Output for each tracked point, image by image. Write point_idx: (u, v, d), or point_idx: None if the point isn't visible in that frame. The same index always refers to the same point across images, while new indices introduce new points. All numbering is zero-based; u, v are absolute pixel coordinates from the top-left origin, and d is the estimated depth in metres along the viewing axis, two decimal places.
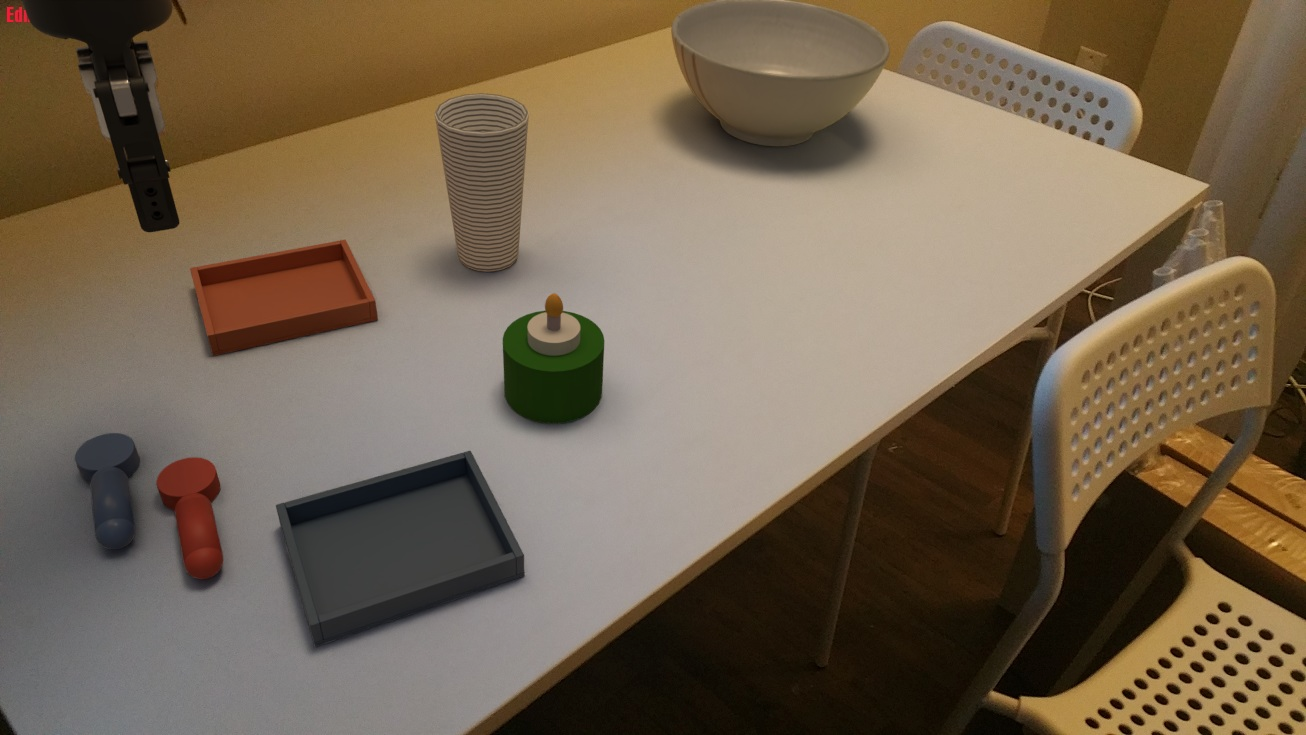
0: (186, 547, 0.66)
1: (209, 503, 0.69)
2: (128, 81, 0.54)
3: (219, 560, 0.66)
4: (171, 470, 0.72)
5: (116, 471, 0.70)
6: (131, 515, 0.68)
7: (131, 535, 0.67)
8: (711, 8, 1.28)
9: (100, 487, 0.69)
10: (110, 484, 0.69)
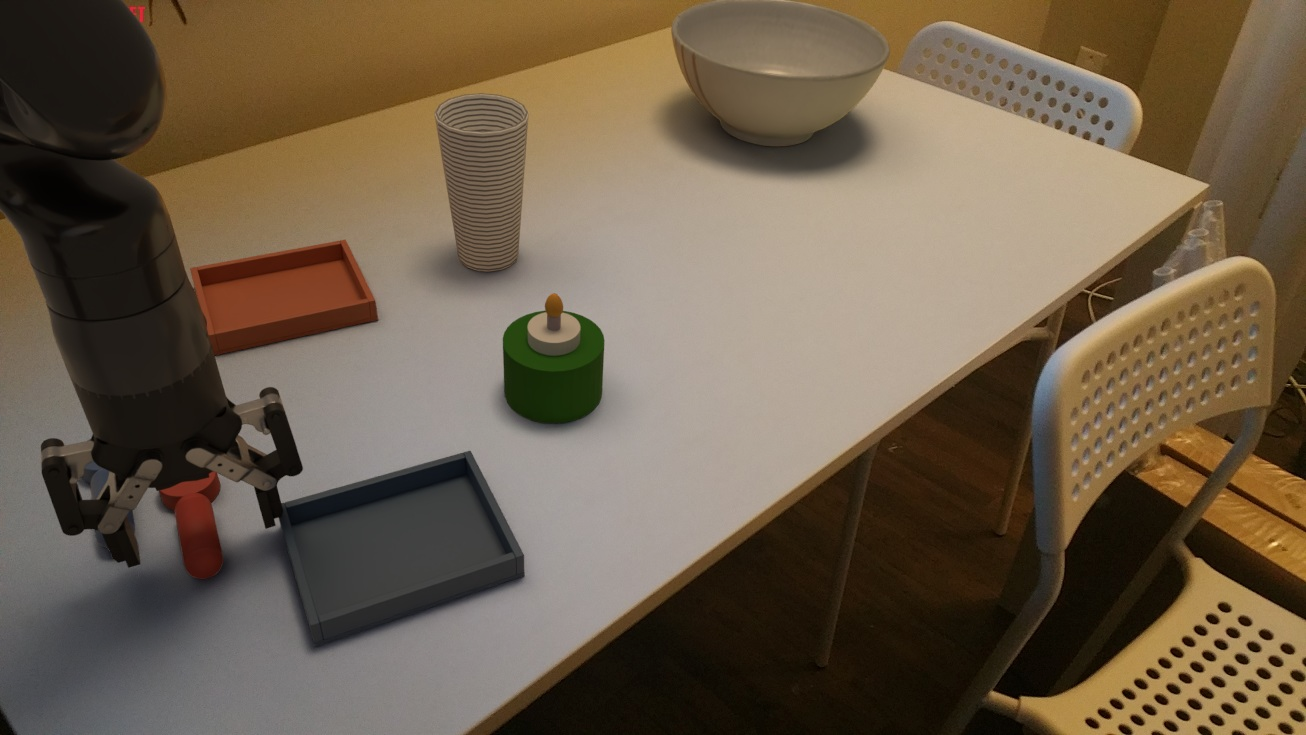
0: (186, 547, 0.66)
1: (209, 503, 0.69)
2: (273, 394, 0.63)
3: (219, 560, 0.66)
4: None
5: None
6: (131, 515, 0.68)
7: None
8: (711, 7, 1.28)
9: (100, 487, 0.69)
10: None
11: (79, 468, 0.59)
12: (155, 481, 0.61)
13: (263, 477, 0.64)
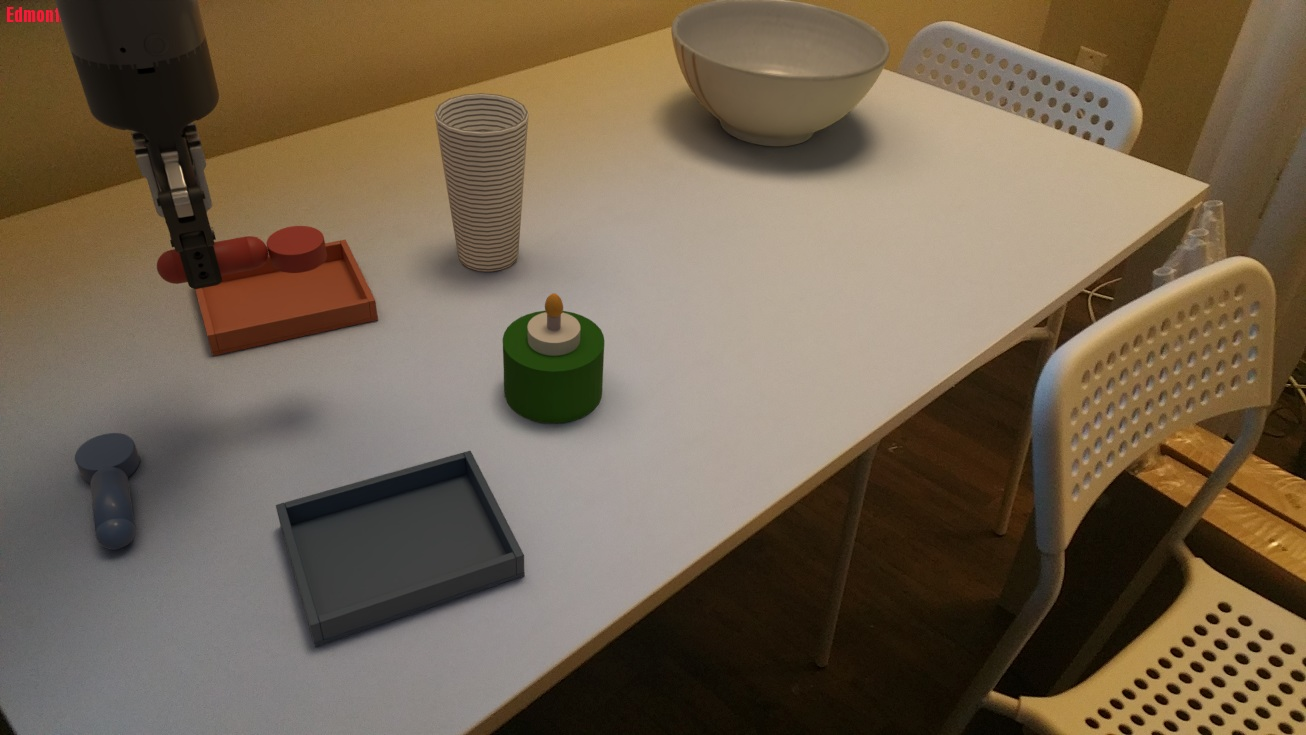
0: None
1: (248, 256, 0.70)
2: (188, 195, 0.60)
3: (165, 271, 0.68)
4: (307, 231, 0.73)
5: (116, 471, 0.70)
6: (131, 515, 0.68)
7: (131, 535, 0.67)
8: (711, 7, 1.28)
9: (100, 487, 0.69)
10: (110, 484, 0.69)
11: None
12: None
13: None
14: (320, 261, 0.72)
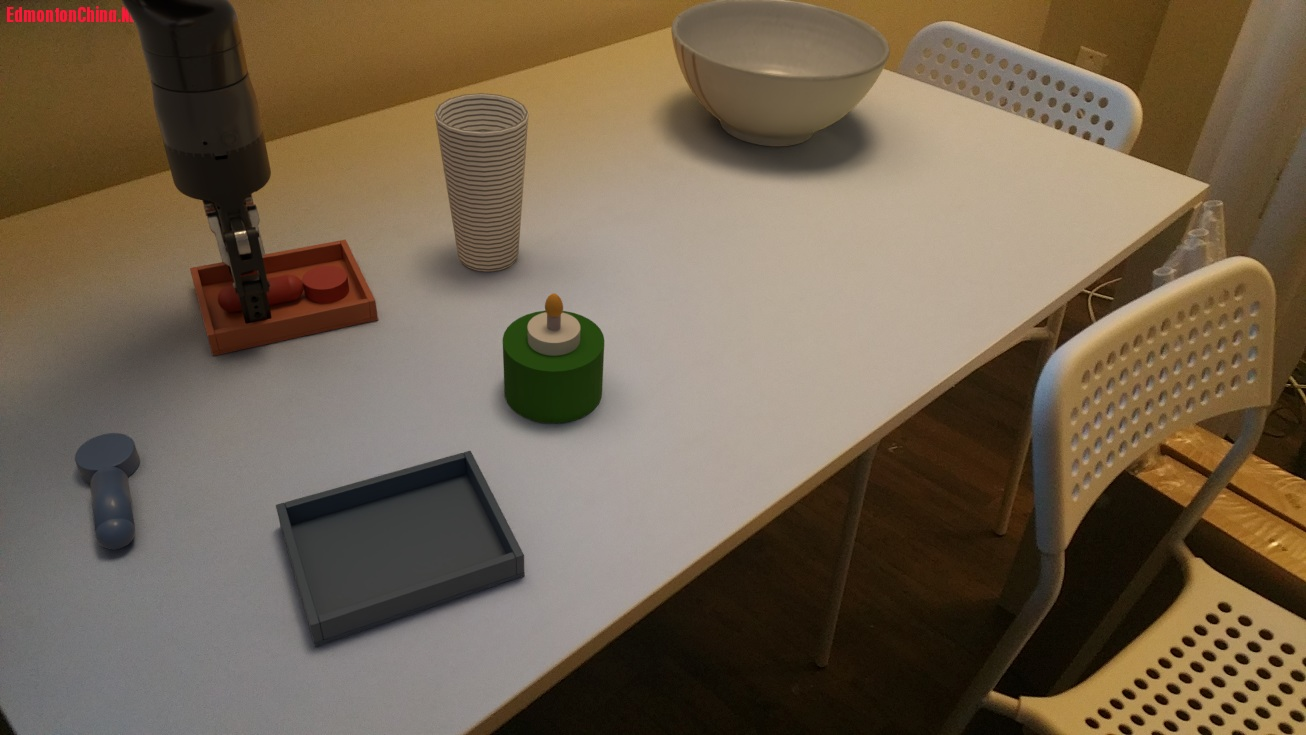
0: None
1: (288, 290, 0.89)
2: (246, 231, 0.78)
3: (225, 303, 0.87)
4: (334, 269, 0.92)
5: (116, 471, 0.70)
6: (131, 515, 0.68)
7: (131, 535, 0.67)
8: (711, 7, 1.28)
9: (100, 487, 0.69)
10: (110, 484, 0.69)
11: None
12: None
13: (233, 278, 0.82)
14: (344, 294, 0.92)
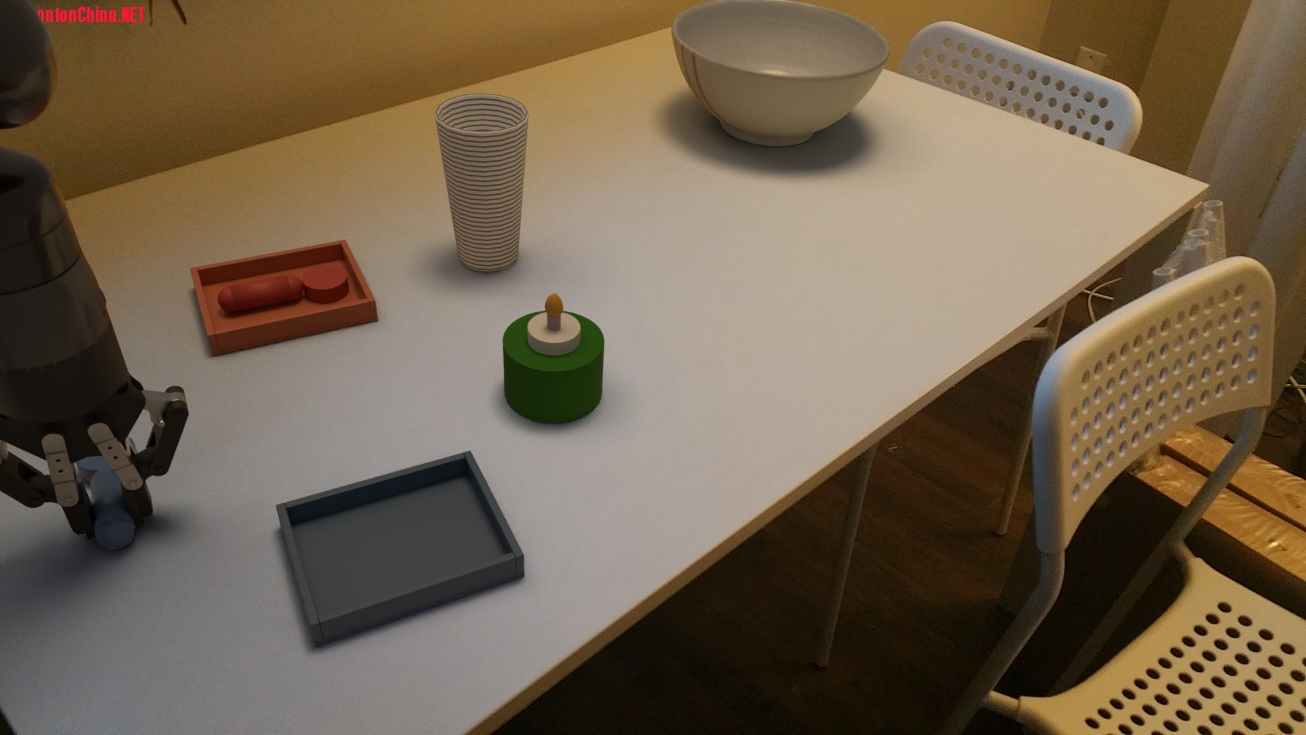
0: None
1: (288, 290, 0.89)
2: (182, 393, 0.66)
3: (225, 303, 0.87)
4: (334, 269, 0.92)
5: None
6: None
7: (131, 535, 0.67)
8: (711, 7, 1.28)
9: (100, 487, 0.69)
10: (110, 484, 0.69)
11: None
12: None
13: (128, 476, 0.66)
14: (344, 294, 0.92)
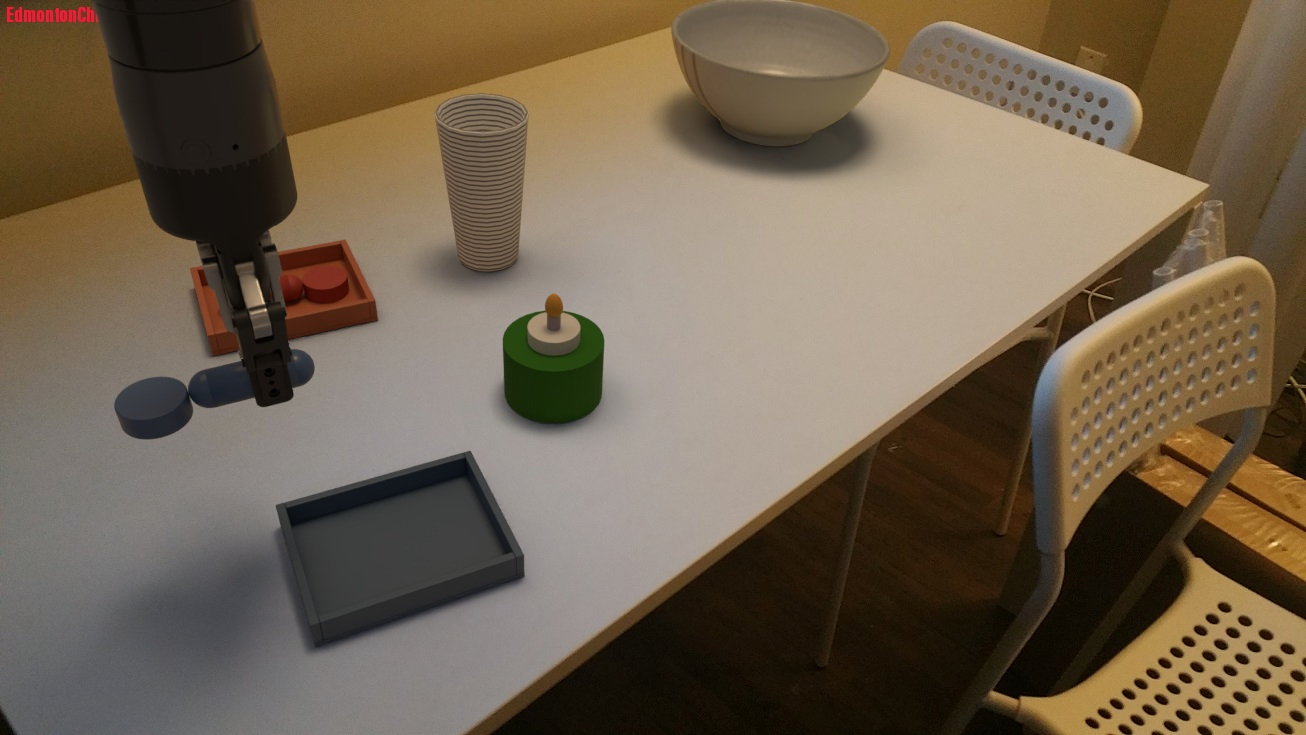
0: None
1: (288, 290, 0.89)
2: None
3: None
4: (334, 269, 0.92)
5: (206, 369, 0.60)
6: None
7: None
8: (711, 7, 1.28)
9: (232, 372, 0.59)
10: (230, 365, 0.60)
11: None
12: None
13: None
14: (344, 294, 0.92)
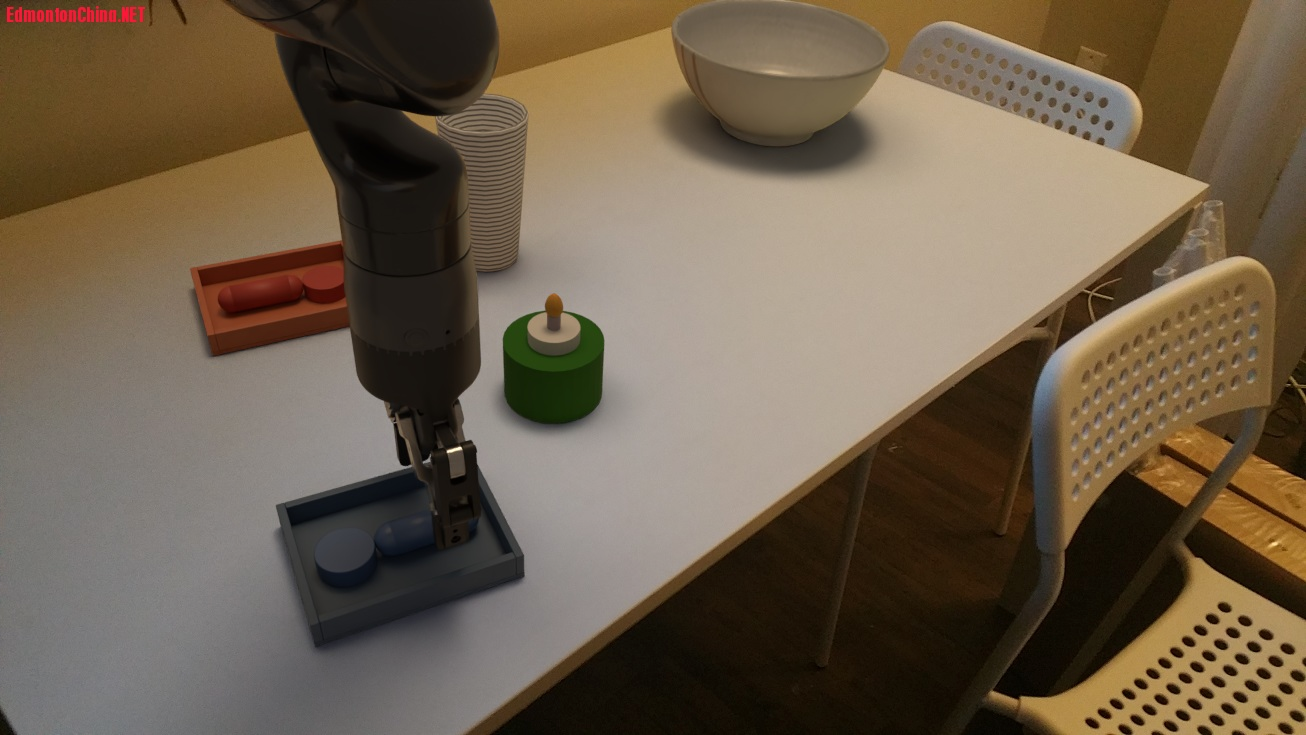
0: None
1: (288, 290, 0.89)
2: None
3: (225, 303, 0.87)
4: (334, 269, 0.92)
5: (389, 521, 0.68)
6: None
7: None
8: (711, 7, 1.28)
9: (413, 525, 0.68)
10: (410, 518, 0.68)
11: None
12: None
13: None
14: (344, 294, 0.92)
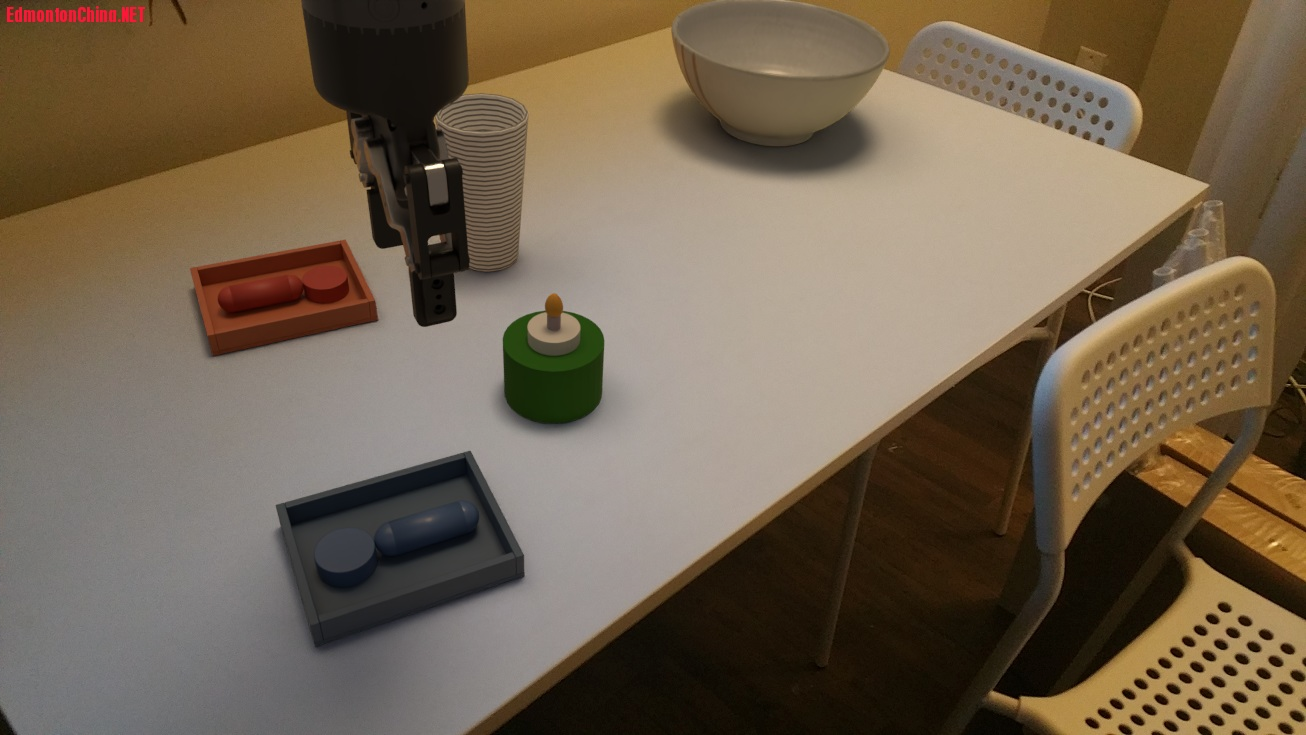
0: None
1: (288, 290, 0.89)
2: None
3: (225, 303, 0.87)
4: (334, 269, 0.92)
5: (389, 521, 0.68)
6: None
7: None
8: (711, 7, 1.28)
9: (413, 525, 0.68)
10: (410, 518, 0.68)
11: None
12: None
13: None
14: (344, 294, 0.92)
